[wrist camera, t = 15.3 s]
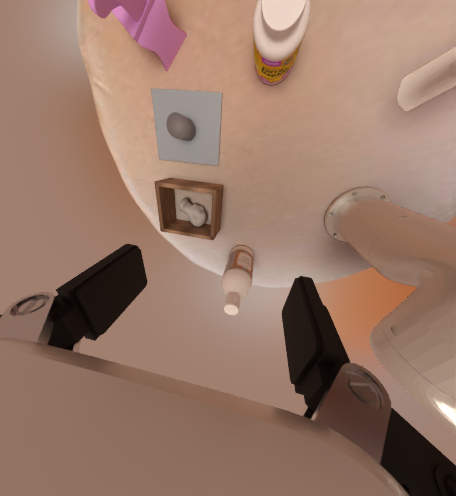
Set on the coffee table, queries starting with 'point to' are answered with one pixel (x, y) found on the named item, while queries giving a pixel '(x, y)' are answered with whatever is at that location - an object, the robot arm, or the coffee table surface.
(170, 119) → the lid
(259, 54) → the supplement bottle
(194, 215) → the smooth white sculpture
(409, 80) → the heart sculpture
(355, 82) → the coffee table surface
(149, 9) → the toy chair
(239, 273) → the bath foam
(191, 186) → the box
